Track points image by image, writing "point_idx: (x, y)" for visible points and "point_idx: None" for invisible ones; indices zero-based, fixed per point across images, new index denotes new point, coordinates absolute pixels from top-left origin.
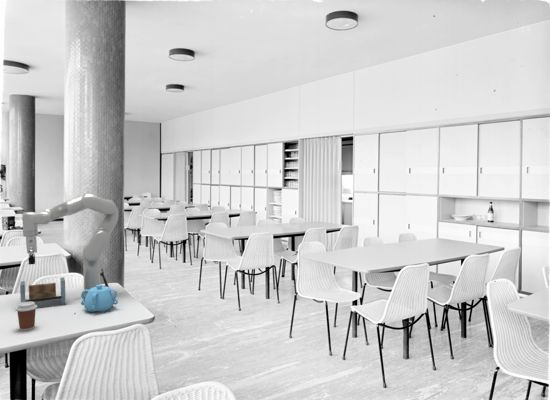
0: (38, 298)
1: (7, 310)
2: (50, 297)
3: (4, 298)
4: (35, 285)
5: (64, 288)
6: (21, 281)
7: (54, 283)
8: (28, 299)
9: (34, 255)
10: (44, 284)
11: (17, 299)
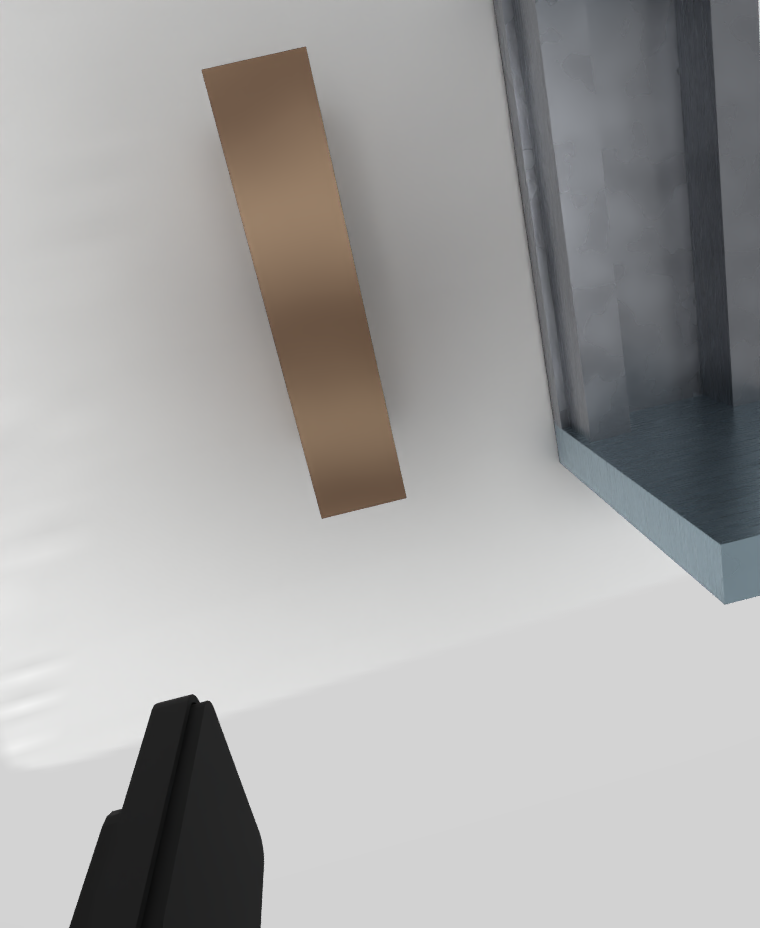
0: (587, 286)
1: None
2: (589, 117)
3: None
4: (361, 409)
5: None
6: (726, 593)
7: (274, 77)
8: (592, 406)
9: (172, 905)
10: (320, 266)
11: (241, 589)
